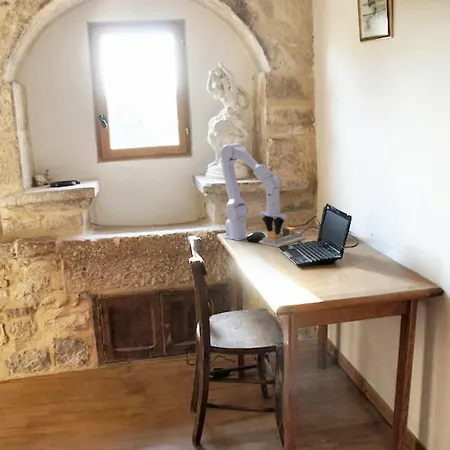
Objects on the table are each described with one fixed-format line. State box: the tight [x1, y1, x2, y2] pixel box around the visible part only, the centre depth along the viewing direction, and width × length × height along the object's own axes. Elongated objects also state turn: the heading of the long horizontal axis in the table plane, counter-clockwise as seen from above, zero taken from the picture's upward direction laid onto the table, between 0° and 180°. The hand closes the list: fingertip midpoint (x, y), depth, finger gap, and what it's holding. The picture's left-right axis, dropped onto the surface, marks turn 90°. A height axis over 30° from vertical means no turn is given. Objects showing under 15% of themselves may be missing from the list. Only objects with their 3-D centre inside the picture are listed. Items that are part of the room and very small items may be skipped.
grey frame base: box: [258, 226, 306, 248], centre depth 270 cm, size 12×18×5 cm, turn 134°
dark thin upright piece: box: [317, 206, 327, 243], centre depth 269 cm, size 2×24×15 cm, turn 163°
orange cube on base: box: [267, 228, 282, 240], centre depth 266 cm, size 4×5×4 cm
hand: (273, 233), depth 266 cm, fingers closed on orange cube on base, 4 cm apart
